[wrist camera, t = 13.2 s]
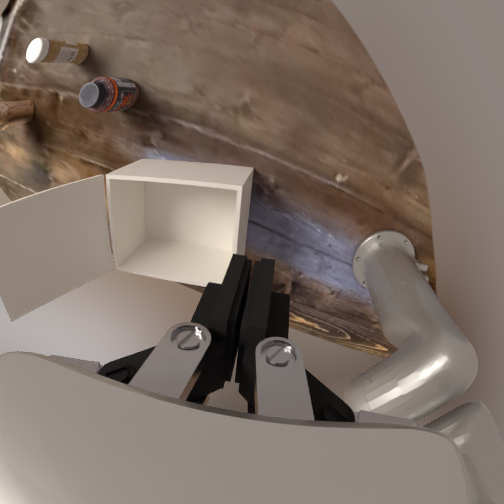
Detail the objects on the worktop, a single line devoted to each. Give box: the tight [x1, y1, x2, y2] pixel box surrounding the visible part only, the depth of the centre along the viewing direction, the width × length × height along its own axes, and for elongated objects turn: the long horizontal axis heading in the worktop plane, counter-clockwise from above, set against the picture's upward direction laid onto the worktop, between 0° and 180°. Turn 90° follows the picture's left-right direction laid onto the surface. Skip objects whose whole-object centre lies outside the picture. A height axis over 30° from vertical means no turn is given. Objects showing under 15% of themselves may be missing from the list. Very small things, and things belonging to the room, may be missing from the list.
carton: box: [106, 159, 254, 287], centre depth 45 cm, size 20×16×12 cm
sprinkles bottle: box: [26, 38, 88, 64], centre depth 32 cm, size 5×5×13 cm
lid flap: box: [0, 175, 114, 321], centre depth 33 cm, size 20×16×1 cm
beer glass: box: [0, 98, 34, 131], centre depth 37 cm, size 7×7×15 cm
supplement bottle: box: [79, 77, 139, 113], centre depth 37 cm, size 6×6×11 cm
